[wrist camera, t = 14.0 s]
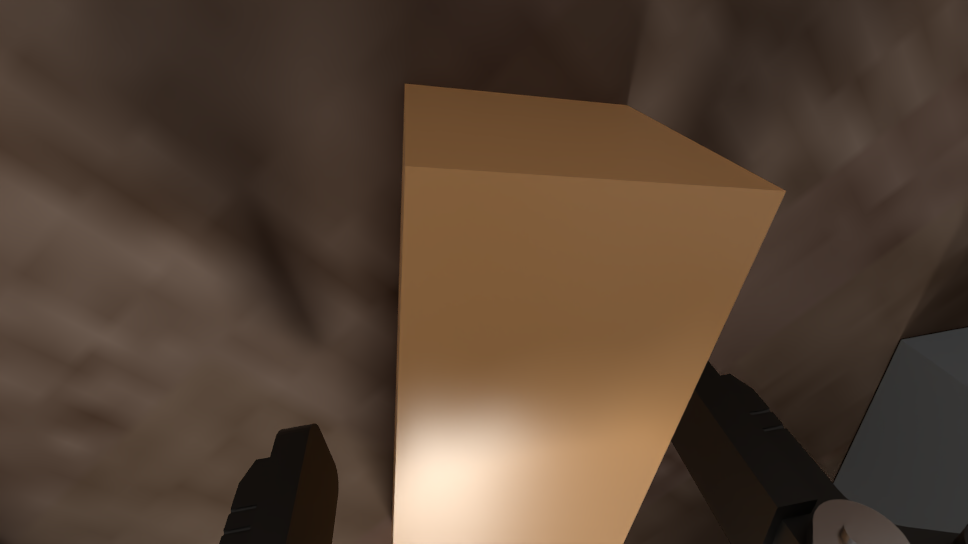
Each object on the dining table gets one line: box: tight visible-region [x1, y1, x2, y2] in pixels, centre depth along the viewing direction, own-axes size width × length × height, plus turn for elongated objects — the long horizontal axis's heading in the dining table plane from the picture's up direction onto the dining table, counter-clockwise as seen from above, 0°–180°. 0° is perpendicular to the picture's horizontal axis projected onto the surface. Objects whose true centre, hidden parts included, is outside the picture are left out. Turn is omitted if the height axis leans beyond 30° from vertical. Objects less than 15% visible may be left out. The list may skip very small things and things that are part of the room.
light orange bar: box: [391, 84, 786, 544], centre depth 11 cm, size 14×4×5 cm, turn 173°
